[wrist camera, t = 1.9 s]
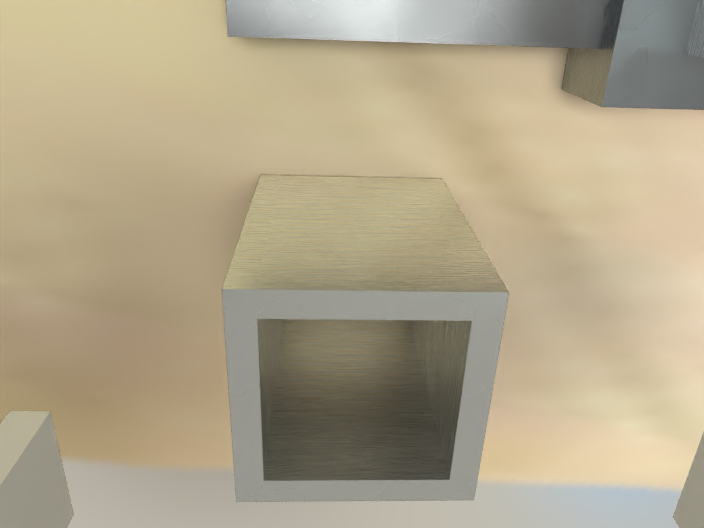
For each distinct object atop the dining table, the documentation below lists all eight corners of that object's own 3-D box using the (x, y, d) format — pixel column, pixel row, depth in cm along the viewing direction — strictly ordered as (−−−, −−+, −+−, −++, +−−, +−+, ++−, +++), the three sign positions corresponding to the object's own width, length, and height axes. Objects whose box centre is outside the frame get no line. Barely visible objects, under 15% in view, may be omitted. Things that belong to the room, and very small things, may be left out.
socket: (265, 331, 22) (236, 501, 15) (260, 174, 19) (221, 289, 12) (426, 332, 22) (473, 500, 15) (441, 178, 20) (508, 292, 12)
